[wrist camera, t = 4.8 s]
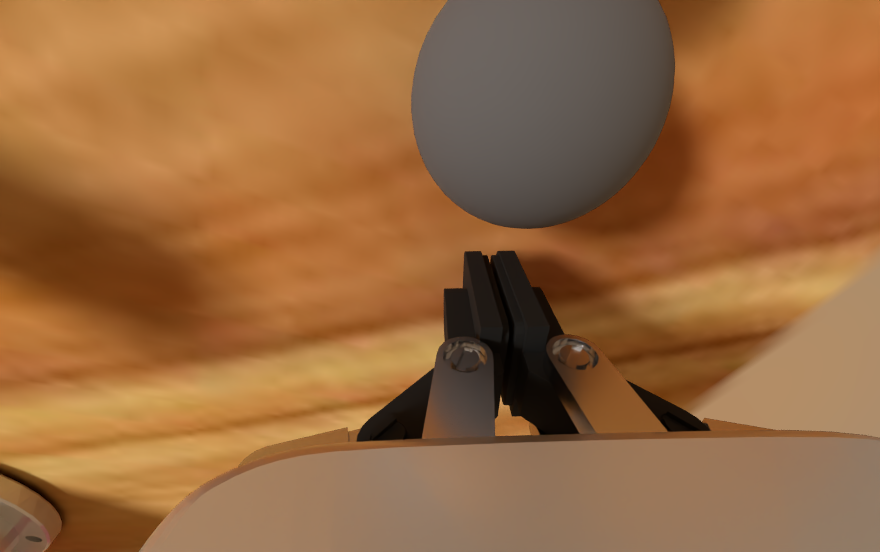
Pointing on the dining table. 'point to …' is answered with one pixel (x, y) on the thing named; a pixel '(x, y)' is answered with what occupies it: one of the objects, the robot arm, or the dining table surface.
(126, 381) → the dining table surface
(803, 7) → the dining table surface
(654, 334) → the dining table surface
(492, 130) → the dark gray ball
